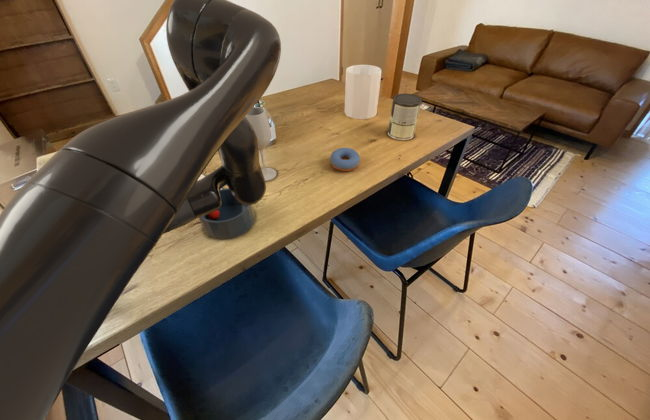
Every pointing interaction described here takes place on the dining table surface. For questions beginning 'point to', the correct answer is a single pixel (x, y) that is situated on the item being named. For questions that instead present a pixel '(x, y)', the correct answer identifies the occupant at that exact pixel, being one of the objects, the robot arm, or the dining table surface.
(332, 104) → the dining table surface
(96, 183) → the robot arm
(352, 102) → the container
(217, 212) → the ball
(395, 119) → the coffee can
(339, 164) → the doughnut
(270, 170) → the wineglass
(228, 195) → the bowl
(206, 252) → the dining table surface
